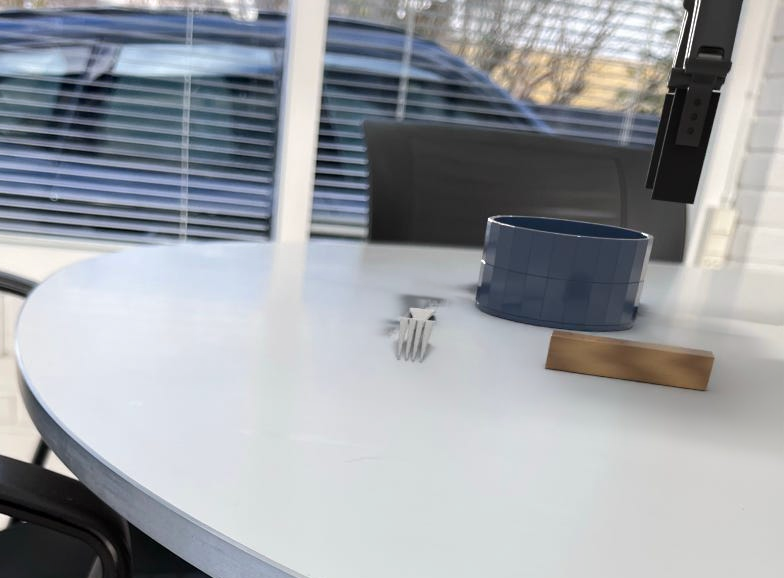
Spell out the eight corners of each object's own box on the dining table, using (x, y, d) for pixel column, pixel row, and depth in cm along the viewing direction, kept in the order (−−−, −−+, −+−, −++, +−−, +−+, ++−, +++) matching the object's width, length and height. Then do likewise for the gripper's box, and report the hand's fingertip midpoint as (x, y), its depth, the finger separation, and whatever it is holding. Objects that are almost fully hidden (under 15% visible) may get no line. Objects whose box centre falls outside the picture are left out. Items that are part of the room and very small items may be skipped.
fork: (434, 340, 99) (438, 309, 98) (428, 362, 79) (433, 324, 78) (404, 336, 99) (408, 306, 98) (391, 358, 80) (396, 320, 79)
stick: (703, 384, 81) (712, 351, 80) (706, 391, 79) (715, 357, 78) (546, 361, 83) (552, 329, 82) (545, 368, 81) (551, 335, 80)
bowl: (632, 311, 109) (650, 229, 105) (635, 338, 96) (656, 245, 92) (483, 292, 112) (496, 211, 108) (466, 316, 98) (480, 224, 95)
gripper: (679, -135, 77) (612, 180, 87) (707, -235, 55) (614, 200, 65) (786, -128, 76) (707, 191, 85) (858, -229, 54) (740, 215, 64)
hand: (666, 196), depth 75 cm, fingers open, 13 cm apart
